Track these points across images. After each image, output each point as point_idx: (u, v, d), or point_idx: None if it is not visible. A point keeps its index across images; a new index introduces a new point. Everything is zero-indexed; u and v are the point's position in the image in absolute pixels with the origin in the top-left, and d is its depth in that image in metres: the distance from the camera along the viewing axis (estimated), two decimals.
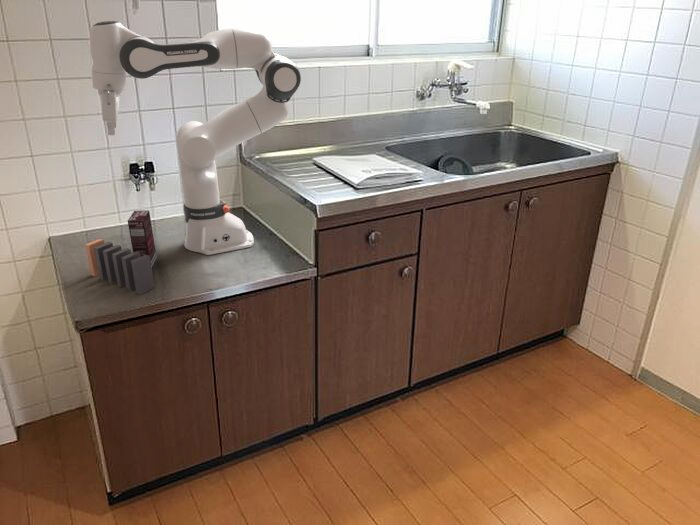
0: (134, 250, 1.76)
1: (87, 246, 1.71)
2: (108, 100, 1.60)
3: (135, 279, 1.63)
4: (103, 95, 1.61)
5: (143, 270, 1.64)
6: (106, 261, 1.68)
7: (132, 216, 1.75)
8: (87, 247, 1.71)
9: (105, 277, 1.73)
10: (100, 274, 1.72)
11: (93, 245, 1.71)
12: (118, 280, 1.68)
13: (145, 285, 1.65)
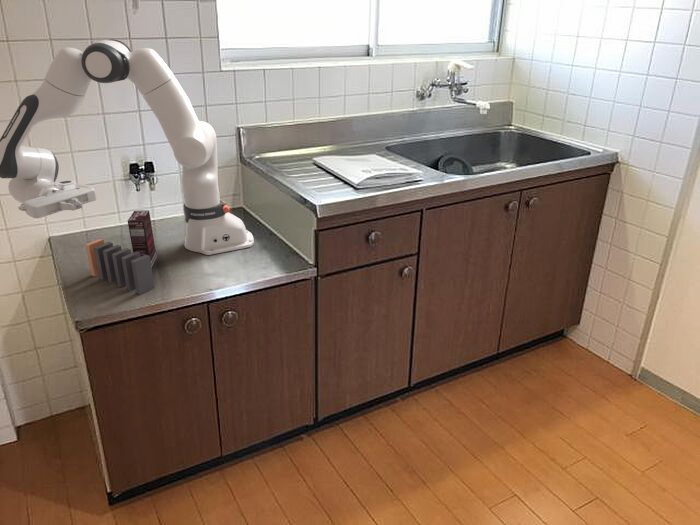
0: (134, 250, 1.76)
1: (87, 246, 1.71)
2: (21, 209, 1.68)
3: (135, 279, 1.63)
4: None
5: (143, 270, 1.64)
6: (106, 261, 1.68)
7: (132, 216, 1.75)
8: (87, 247, 1.71)
9: (105, 277, 1.73)
10: (100, 274, 1.72)
11: (93, 245, 1.71)
12: (118, 280, 1.68)
13: (145, 285, 1.65)
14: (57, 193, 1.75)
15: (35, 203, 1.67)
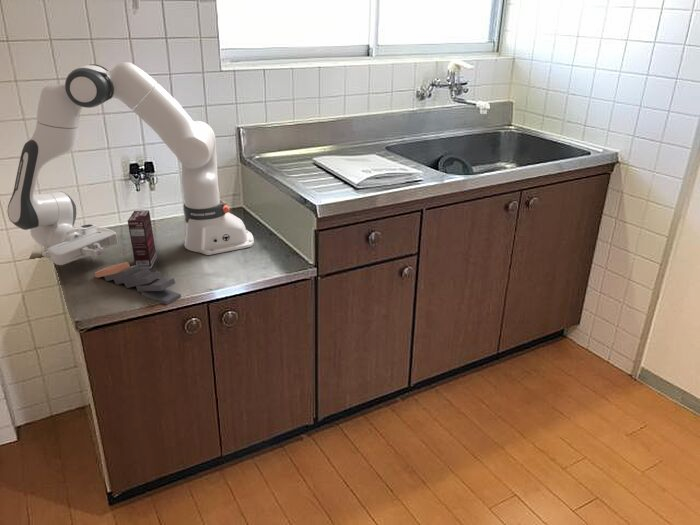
0: (134, 250, 1.76)
1: (114, 271, 1.68)
2: (45, 256, 1.70)
3: (152, 298, 1.62)
4: None
5: None
6: (129, 279, 1.66)
7: (132, 216, 1.75)
8: (113, 271, 1.68)
9: None
10: (108, 278, 1.70)
11: (119, 271, 1.69)
12: (129, 284, 1.67)
13: None
14: (79, 238, 1.78)
15: (59, 250, 1.70)
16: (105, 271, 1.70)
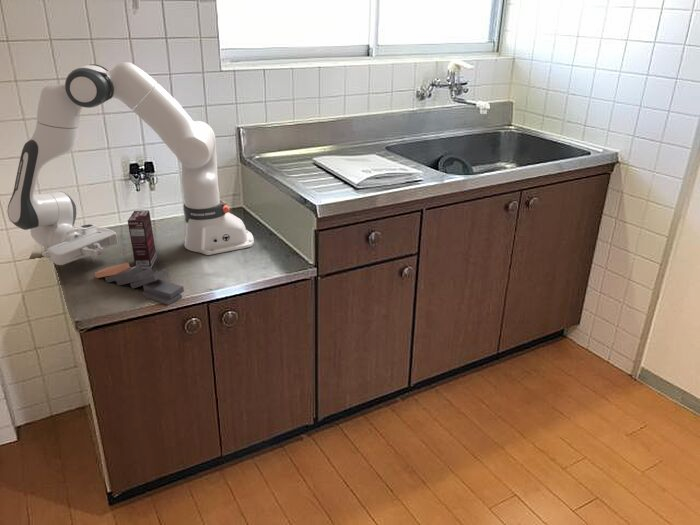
0: (134, 250, 1.76)
1: (114, 272, 1.68)
2: (45, 256, 1.70)
3: (154, 298, 1.62)
4: None
5: None
6: (132, 279, 1.65)
7: (132, 216, 1.75)
8: (113, 272, 1.68)
9: None
10: (109, 279, 1.70)
11: None
12: (135, 284, 1.66)
13: None
14: (79, 238, 1.78)
15: (59, 250, 1.70)
16: (105, 272, 1.70)
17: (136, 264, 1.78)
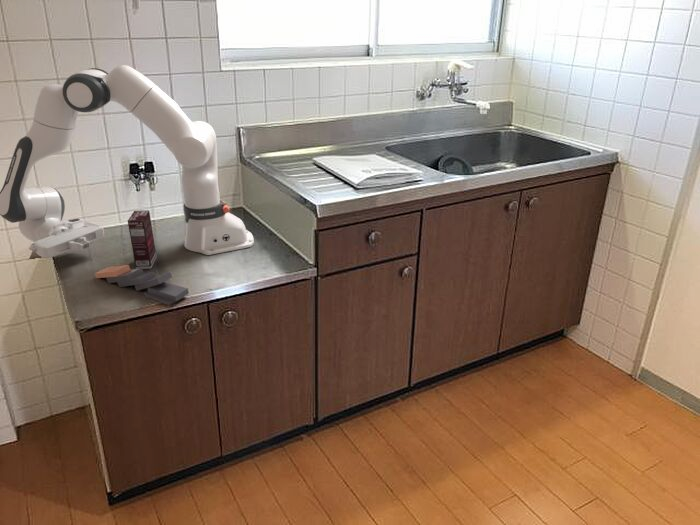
0: (134, 250, 1.76)
1: (114, 274, 1.67)
2: (32, 249, 1.73)
3: (154, 299, 1.62)
4: None
5: None
6: (133, 282, 1.65)
7: (132, 216, 1.75)
8: (113, 274, 1.68)
9: None
10: (111, 280, 1.69)
11: None
12: (140, 287, 1.65)
13: None
14: (66, 232, 1.81)
15: (45, 243, 1.73)
16: (105, 273, 1.70)
17: (136, 264, 1.78)
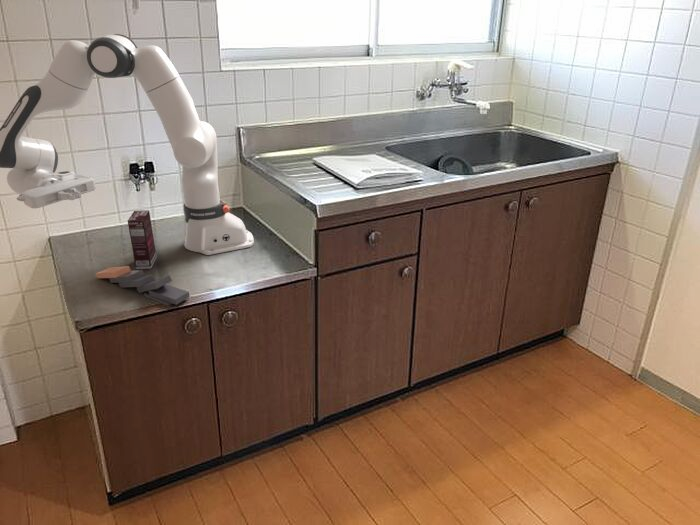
0: (134, 250, 1.76)
1: (114, 275, 1.67)
2: (20, 200, 1.67)
3: None
4: None
5: None
6: (132, 284, 1.64)
7: (132, 216, 1.75)
8: (113, 275, 1.67)
9: None
10: (112, 280, 1.69)
11: None
12: (141, 289, 1.64)
13: None
14: (55, 184, 1.74)
15: (33, 193, 1.66)
16: (106, 273, 1.70)
17: (136, 264, 1.78)
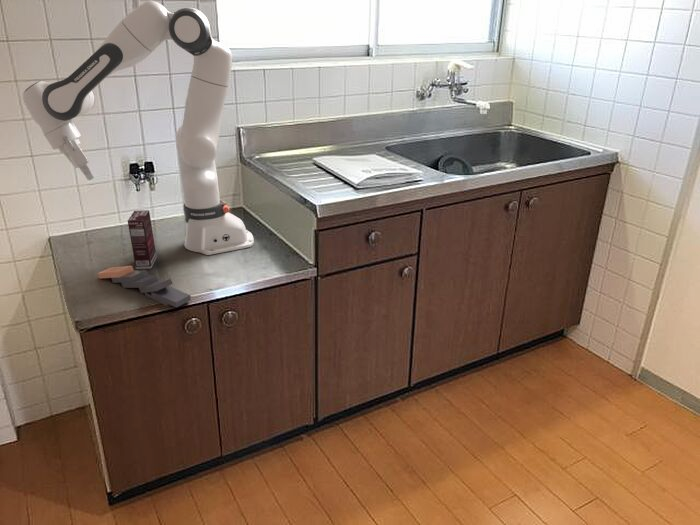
0: (134, 250, 1.76)
1: (117, 275, 1.68)
2: (71, 146, 1.67)
3: (155, 299, 1.62)
4: (65, 145, 1.68)
5: None
6: (136, 285, 1.64)
7: (132, 216, 1.75)
8: (116, 274, 1.68)
9: None
10: (115, 280, 1.69)
11: None
12: (143, 290, 1.64)
13: None
14: None
15: None
16: (108, 273, 1.70)
17: (136, 264, 1.78)
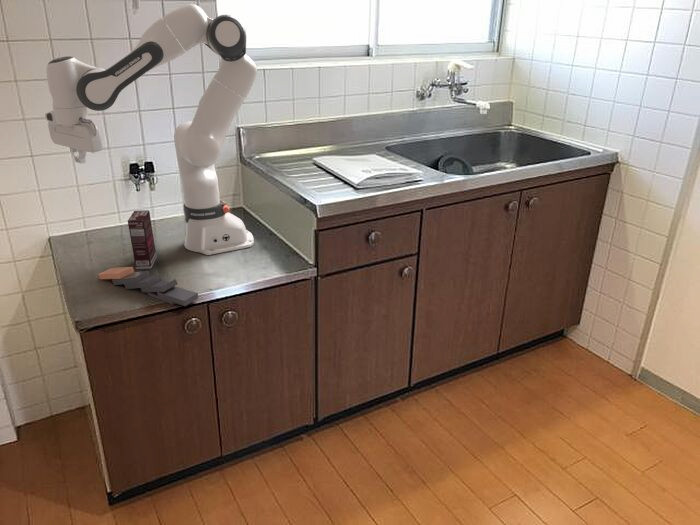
0: (134, 250, 1.76)
1: (118, 276, 1.67)
2: (95, 131, 1.69)
3: (158, 298, 1.62)
4: (87, 128, 1.68)
5: None
6: (141, 285, 1.64)
7: (132, 216, 1.75)
8: (117, 276, 1.67)
9: None
10: (116, 282, 1.68)
11: None
12: (145, 289, 1.64)
13: None
14: None
15: None
16: (109, 275, 1.69)
17: (136, 264, 1.78)
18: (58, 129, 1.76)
